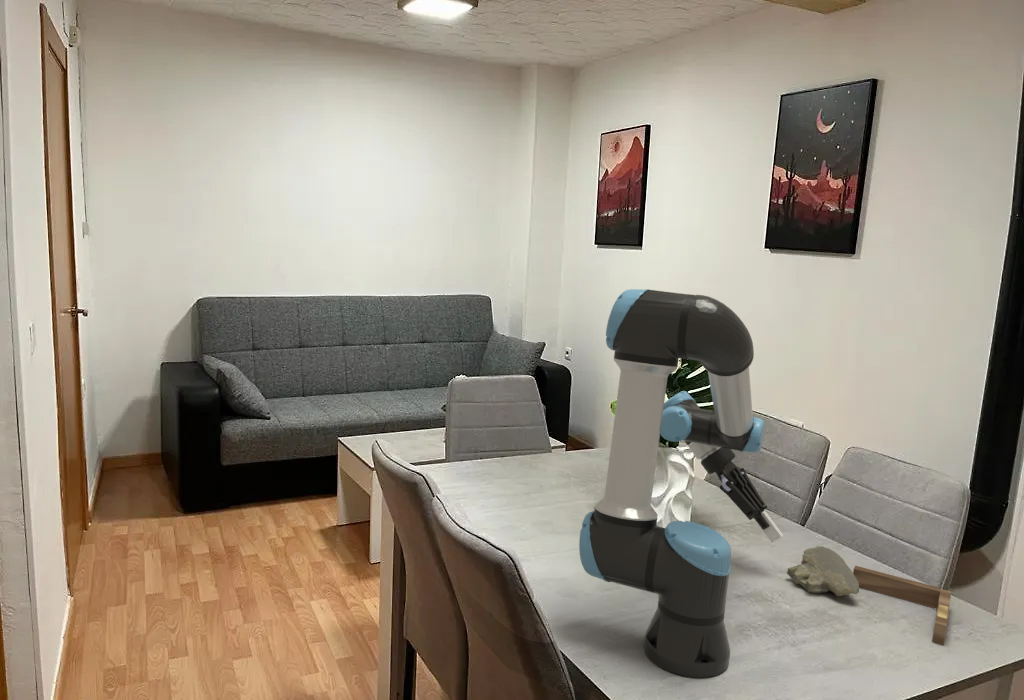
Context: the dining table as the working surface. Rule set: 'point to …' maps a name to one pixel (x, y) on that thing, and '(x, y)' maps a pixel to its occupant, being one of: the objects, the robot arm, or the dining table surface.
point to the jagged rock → (824, 572)
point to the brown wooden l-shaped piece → (909, 595)
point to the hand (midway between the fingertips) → (777, 538)
